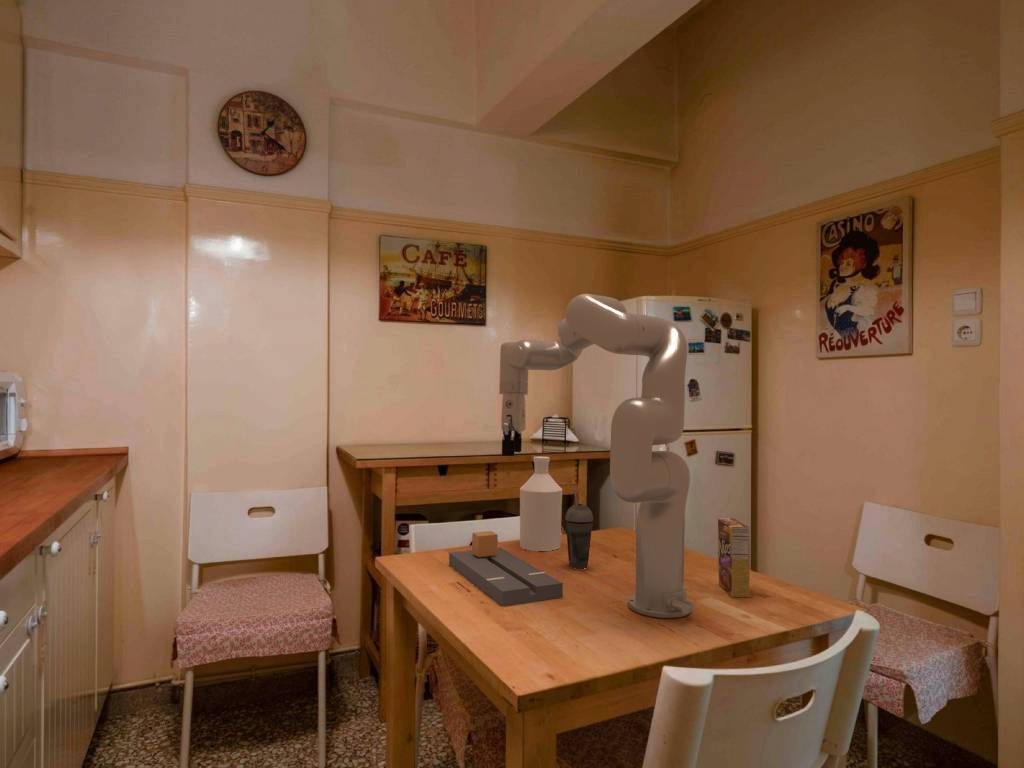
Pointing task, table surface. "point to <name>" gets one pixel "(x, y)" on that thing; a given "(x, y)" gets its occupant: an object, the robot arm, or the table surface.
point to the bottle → (540, 510)
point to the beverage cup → (578, 534)
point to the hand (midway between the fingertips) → (511, 453)
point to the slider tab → (484, 544)
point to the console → (506, 577)
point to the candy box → (734, 557)
